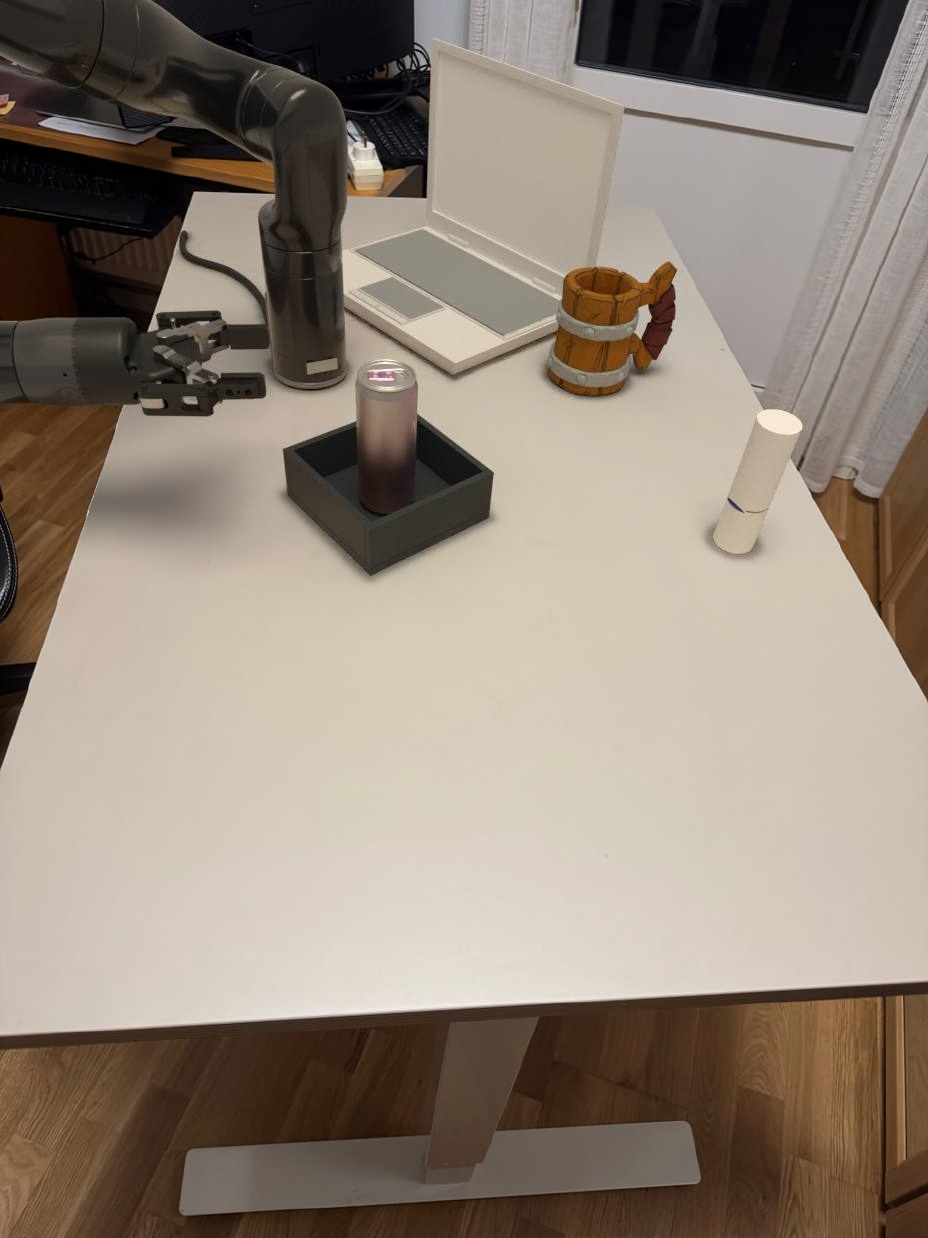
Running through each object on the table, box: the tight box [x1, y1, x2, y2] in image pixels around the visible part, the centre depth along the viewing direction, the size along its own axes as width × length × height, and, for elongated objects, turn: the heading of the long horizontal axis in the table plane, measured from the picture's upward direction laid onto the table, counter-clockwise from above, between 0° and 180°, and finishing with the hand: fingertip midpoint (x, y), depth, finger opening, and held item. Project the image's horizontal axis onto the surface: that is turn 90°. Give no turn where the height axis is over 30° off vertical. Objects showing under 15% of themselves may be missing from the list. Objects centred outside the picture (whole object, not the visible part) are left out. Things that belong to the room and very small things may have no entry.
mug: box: [546, 261, 678, 397], centre depth 108 cm, size 11×16×15 cm, turn 102°
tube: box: [712, 408, 803, 555], centre depth 85 cm, size 4×4×15 cm
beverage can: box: [354, 358, 419, 515], centre depth 85 cm, size 6×6×15 cm
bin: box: [282, 413, 495, 576], centre depth 89 cm, size 16×16×6 cm
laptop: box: [342, 37, 626, 376], centre depth 114 cm, size 35×26×28 cm
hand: (267, 359), depth 77 cm, fingers open, 8 cm apart
